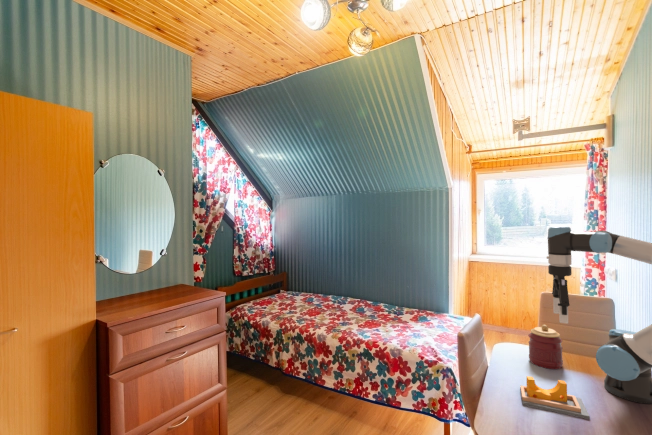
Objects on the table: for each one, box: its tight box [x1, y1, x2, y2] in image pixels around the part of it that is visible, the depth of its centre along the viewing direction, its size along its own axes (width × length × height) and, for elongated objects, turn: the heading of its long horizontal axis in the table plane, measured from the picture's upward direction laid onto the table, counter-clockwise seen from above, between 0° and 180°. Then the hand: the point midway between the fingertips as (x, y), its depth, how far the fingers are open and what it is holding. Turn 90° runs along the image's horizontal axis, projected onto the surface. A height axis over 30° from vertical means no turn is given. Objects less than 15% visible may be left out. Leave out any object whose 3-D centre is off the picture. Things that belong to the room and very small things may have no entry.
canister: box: [528, 324, 564, 370], centre depth 148 cm, size 13×13×18 cm
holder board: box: [519, 385, 591, 420], centre depth 117 cm, size 19×12×2 cm, turn 63°
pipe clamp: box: [526, 376, 568, 402], centre depth 118 cm, size 12×4×6 cm, turn 72°
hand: (560, 318), depth 129 cm, fingers open, 13 cm apart
